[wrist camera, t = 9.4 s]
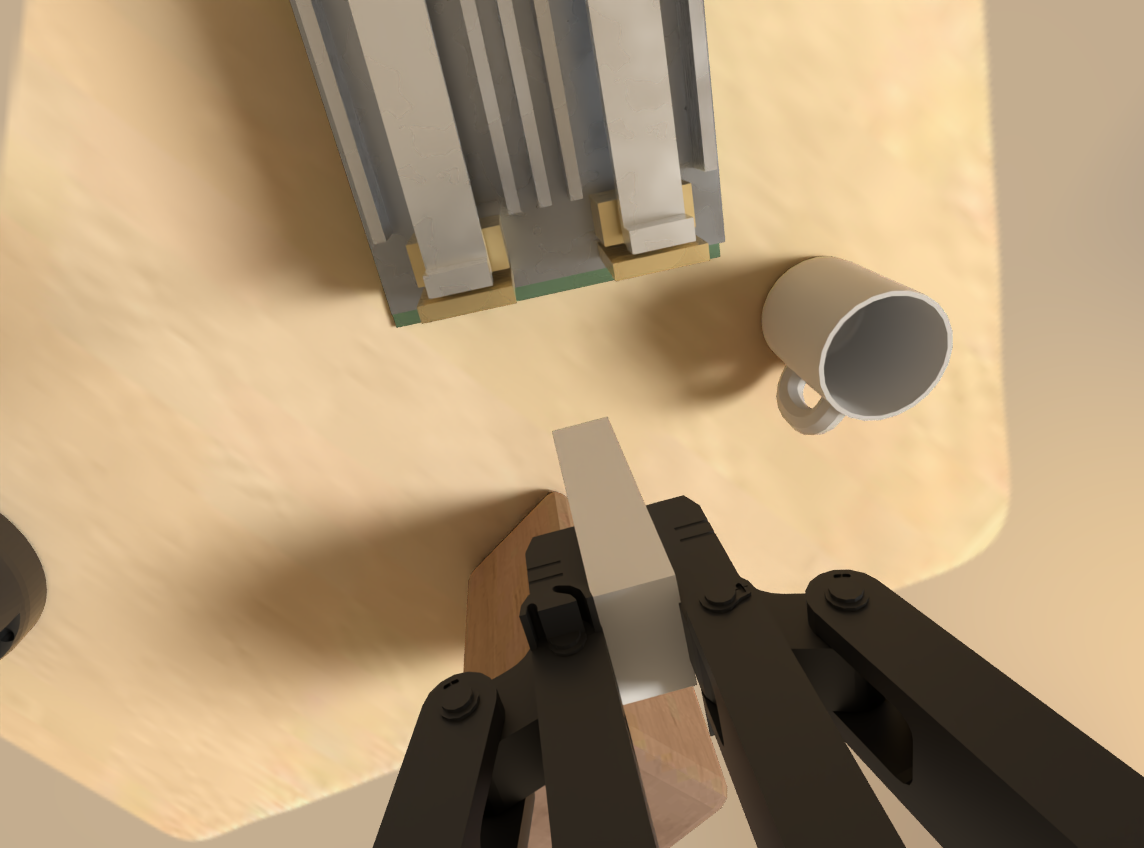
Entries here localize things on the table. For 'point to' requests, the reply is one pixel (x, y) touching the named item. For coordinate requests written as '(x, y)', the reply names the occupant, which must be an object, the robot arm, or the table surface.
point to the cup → (852, 343)
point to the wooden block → (657, 725)
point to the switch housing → (518, 147)
